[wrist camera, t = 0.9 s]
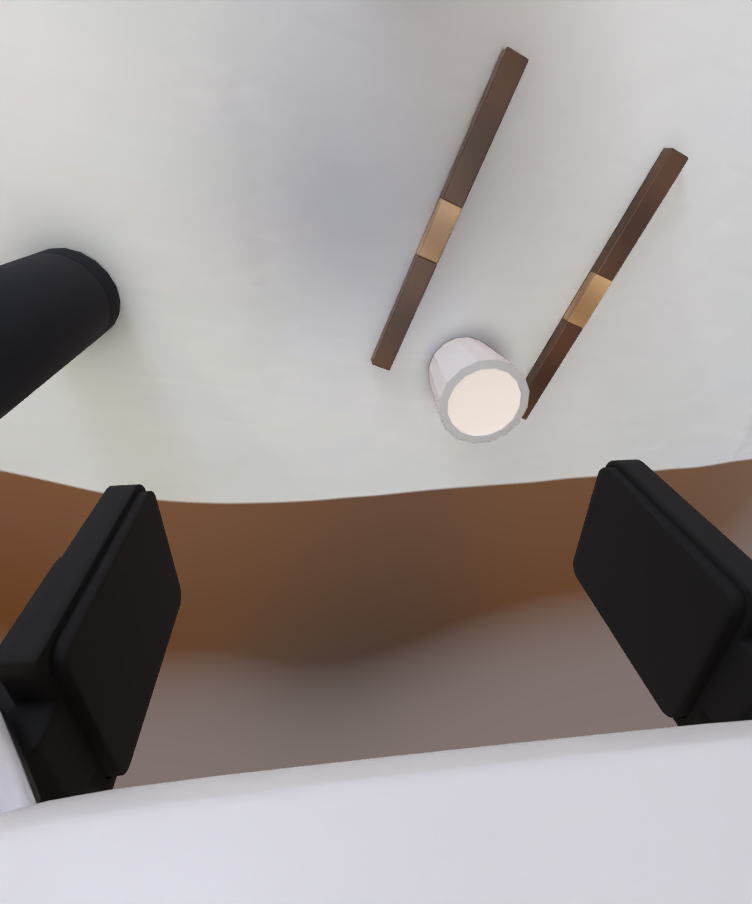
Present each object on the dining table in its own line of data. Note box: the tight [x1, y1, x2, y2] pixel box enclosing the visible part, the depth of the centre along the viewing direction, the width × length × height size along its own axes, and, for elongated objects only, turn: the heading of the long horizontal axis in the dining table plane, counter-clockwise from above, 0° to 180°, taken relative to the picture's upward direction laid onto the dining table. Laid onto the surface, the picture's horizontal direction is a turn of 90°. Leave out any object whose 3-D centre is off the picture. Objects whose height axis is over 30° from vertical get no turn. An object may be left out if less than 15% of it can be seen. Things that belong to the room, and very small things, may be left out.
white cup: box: [429, 337, 529, 443], centre depth 39 cm, size 7×7×7 cm
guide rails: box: [371, 47, 688, 419], centre depth 37 cm, size 22×15×1 cm
